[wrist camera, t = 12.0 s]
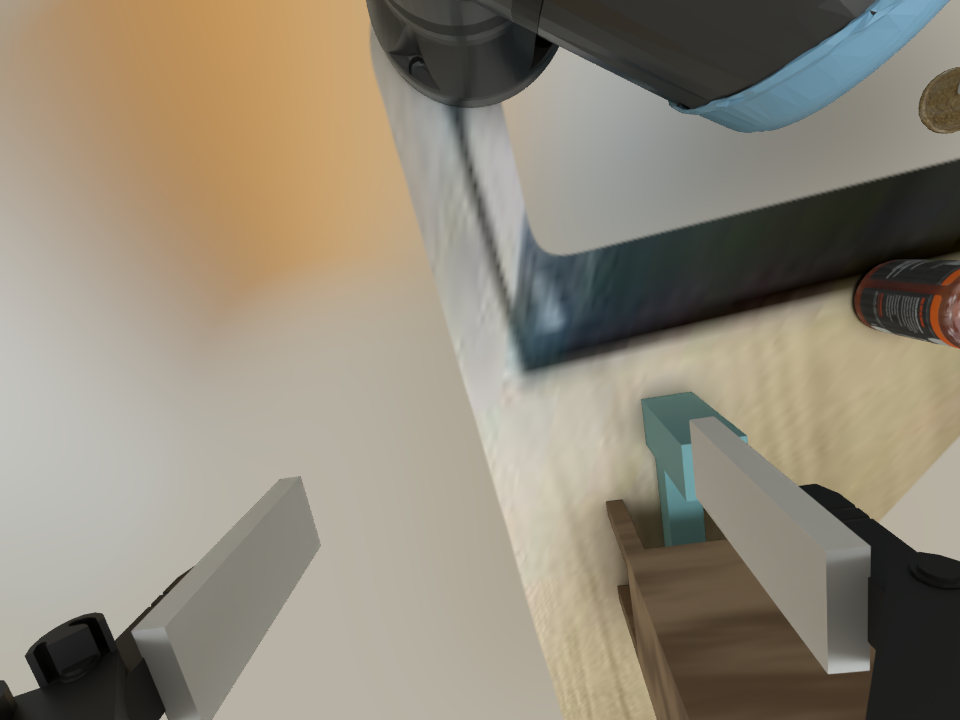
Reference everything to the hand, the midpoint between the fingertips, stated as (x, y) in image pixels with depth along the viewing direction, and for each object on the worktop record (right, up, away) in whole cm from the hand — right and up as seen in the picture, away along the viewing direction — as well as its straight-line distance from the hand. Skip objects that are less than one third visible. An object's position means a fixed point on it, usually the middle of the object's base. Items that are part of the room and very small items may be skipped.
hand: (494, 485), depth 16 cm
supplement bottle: (+33, +10, +23) cm, 42 cm away
